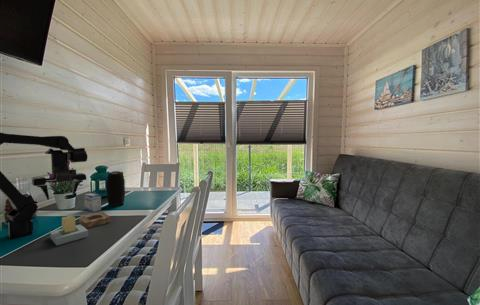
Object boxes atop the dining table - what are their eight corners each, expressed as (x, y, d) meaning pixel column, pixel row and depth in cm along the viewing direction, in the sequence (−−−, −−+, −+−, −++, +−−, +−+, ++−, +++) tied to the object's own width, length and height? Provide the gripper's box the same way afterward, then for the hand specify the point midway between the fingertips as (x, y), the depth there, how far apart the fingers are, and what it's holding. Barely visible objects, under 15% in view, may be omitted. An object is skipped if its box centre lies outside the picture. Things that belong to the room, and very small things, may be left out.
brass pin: (65, 240, 86) (64, 219, 85) (62, 237, 88) (61, 217, 87) (76, 237, 88) (75, 217, 88) (73, 234, 91) (72, 215, 90)
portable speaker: (128, 204, 133) (127, 171, 132) (111, 208, 125) (110, 173, 124) (120, 202, 138) (119, 170, 137) (104, 205, 130) (103, 172, 129)
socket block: (56, 245, 81) (56, 238, 81) (50, 237, 88) (49, 231, 87) (88, 236, 89) (88, 230, 89) (80, 229, 95) (80, 224, 95)
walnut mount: (86, 228, 97) (85, 222, 97) (78, 223, 103) (78, 217, 103) (110, 222, 104) (110, 216, 104) (102, 217, 111) (102, 212, 111)
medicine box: (84, 210, 122) (84, 194, 122) (93, 207, 126) (92, 192, 126) (93, 212, 119) (92, 196, 118) (101, 209, 123) (101, 194, 122)
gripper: (35, 166, 89) (37, 205, 89) (89, 163, 103) (90, 196, 104) (30, 164, 96) (32, 200, 97) (82, 161, 110) (83, 193, 111)
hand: (61, 197), depth 102 cm, fingers open, 9 cm apart
